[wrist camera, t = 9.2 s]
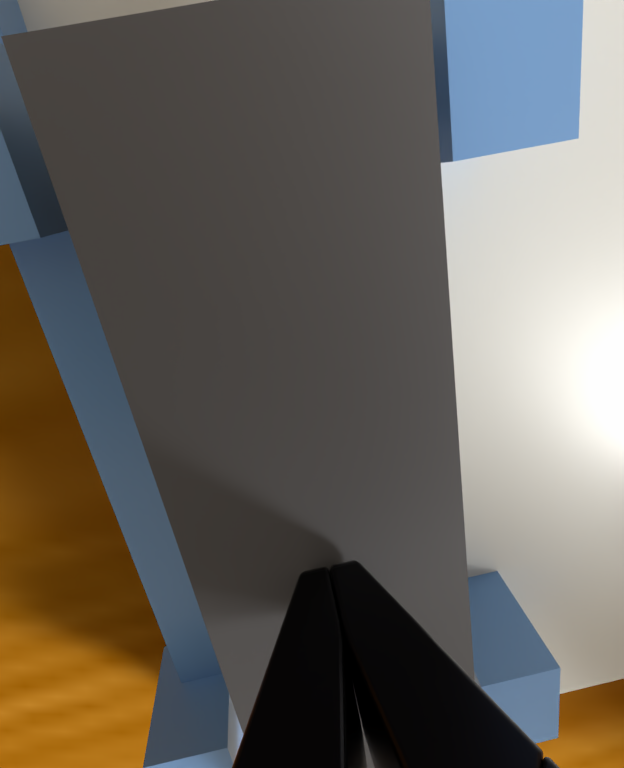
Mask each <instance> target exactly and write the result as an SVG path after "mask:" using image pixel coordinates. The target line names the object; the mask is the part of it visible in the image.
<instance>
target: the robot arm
mask: <svg viewBox="0 0 624 768" xmlns="http://www.w3.org/2000/svg"><path fill="white" fill-rule="evenodd" d="M330 574H331V575H330ZM331 579H332V580H331ZM356 699H357V700H356ZM357 704H358V705H357ZM358 709H359V710H358ZM359 713H360V715H359ZM360 718H361V721H360ZM361 722H362V726H363V730H364V735H365V738H366V741H367V745H368V748H369V752H370V755H371V758H372V761H373V764H374V767H375V768H559V767H558V766H557V765H556V764H555V763H554V762H553V761H552V760H551V759H550V758H549V757H545V758H544V759H543V752H542V750H541V749H540V748H539V747H538V746H537V745H536V744H535V743H534V742H533V741H532V740H531V739H530V738H529V736H528V735H527V734H526V733H525V732H524V731H523V730H522V729H521V728H520V727H519V726H518V725H517V724H516V723H515V722H514V721H513V720H512V719H511V718H510V717H509V716H508V715H507V714H506V713H505V712H504V711H503V710H502V709H501V708H500V707H499V706H498V705H497V704H496V702H495V701H494V700H493V699H492V698H491V697H490V696H489V695H488V694H487V693H486V692H485V691H484V690H483V689H482V688H481V687H480V686H479V685H478V684H477V683H476V682H475V681H474V680H473V679H472V678H471V677H470V676H469V675H468V674H467V673H466V672H465V671H464V670H463V668H462V667H461V666H460V665H459V664H458V663H457V662H456V661H455V660H454V659H453V658H452V657H451V656H450V655H449V654H448V653H447V652H446V651H445V650H444V649H443V648H442V647H441V646H440V645H439V644H438V643H437V642H436V641H435V640H434V639H433V638H432V637H431V636H430V634H429V633H428V632H427V631H426V630H425V629H424V628H423V627H422V626H421V625H420V624H419V623H418V622H417V621H416V620H415V619H414V618H413V617H412V616H411V615H410V614H409V613H408V612H407V611H406V610H405V609H404V608H403V607H402V606H401V605H400V604H399V603H398V601H397V600H396V599H395V598H394V597H393V596H392V595H391V594H390V593H389V592H388V591H387V590H386V589H385V588H384V587H383V586H382V585H381V584H380V583H379V582H378V581H377V580H376V579H375V578H374V577H373V576H372V575H371V574H370V573H369V572H368V571H367V570H366V569H365V567H364V566H363V565H362V564H361V563H359V562H358V561H355V560H352V561H348V562H343V563H339V564H334V565H332V566H331V568H330V571H329V569H328V568H326V567H321V568H317V569H312V570H308V571H304V572H302V573H301V574H300V575H299V578H298V580H297V583H296V586H295V589H294V592H293V595H292V597H291V600H290V603H289V606H288V609H287V612H286V615H285V617H284V620H283V623H282V626H281V629H280V632H279V635H278V637H277V640H276V643H275V646H274V649H273V652H272V655H271V657H270V660H269V663H268V666H267V669H266V672H265V674H264V677H263V680H262V683H261V686H260V689H259V692H258V694H257V697H256V700H255V703H254V706H253V709H252V712H251V714H250V717H249V720H248V723H247V726H246V729H245V732H244V734H243V737H242V740H241V743H240V746H239V749H238V752H237V754H236V757H235V760H234V763H233V766H232V768H367V762H366V753H365V745H364V738H363V732H362V726H361Z"/></svg>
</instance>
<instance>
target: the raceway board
mask: <svg viewBox="0 0 624 768" xmlns="http://www.w3.org/2000/svg"><path fill="white" fill-rule="evenodd" d="M208 1H214V0H0V245H5V244H9V245H10V248H11V250H12V253H13V255H14V258H15V260H16V263H17V265H18V268H19V270H20V273H21V276H22V278H23V281H24V283H25V286H26V288H27V291H28V293H29V296H30V299H31V301H32V304H33V306H34V309H35V311H36V314H37V316H38V319H39V321H40V324H41V327H42V329H43V332H44V334H45V337H46V339H47V342H48V344H49V347H50V350H51V352H52V355H53V357H54V360H55V362H56V365H57V367H58V370H59V372H60V375H61V378H62V380H63V383H64V385H65V388H66V390H67V393H68V395H69V398H70V401H71V403H72V406H73V408H74V411H75V413H76V416H77V418H78V421H79V423H80V426H81V429H82V431H83V434H84V436H85V439H86V441H87V444H88V446H89V449H90V452H91V454H92V457H93V459H94V462H95V464H96V467H97V469H98V472H99V474H100V477H101V480H102V482H103V485H104V487H105V490H106V492H107V495H108V497H109V500H110V503H111V505H112V508H113V510H114V513H115V515H116V518H117V520H118V523H119V525H120V528H121V531H122V533H123V536H124V538H125V541H126V543H127V546H128V548H129V551H130V554H131V556H132V559H133V561H134V564H135V566H136V569H137V571H138V574H139V577H140V579H141V582H142V584H143V587H144V589H145V592H146V594H147V597H148V599H149V602H150V605H151V607H152V610H153V612H154V615H155V617H156V620H157V622H158V625H159V628H160V630H161V633H162V635H163V638H164V640H165V643H166V645H167V646H165V647H164V650H163V656H162V662H161V668H160V673H159V679H158V685H157V690H156V696H155V702H154V708H153V713H152V719H151V725H150V731H149V736H148V742H147V748H146V753H145V759H144V765H143V768H232V766H233V763H234V760H235V757H236V754H237V752H238V749H239V746H240V743H241V740H242V737H243V732H242V729H241V726H240V723H239V721H238V718H237V715H236V712H235V709H234V706H233V703H232V700H231V698H230V695H229V692H228V689H227V686H226V683H225V680H224V677H223V674H222V672H221V669H220V666H219V663H218V660H217V657H216V654H215V651H214V649H213V646H212V643H211V640H210V637H209V634H208V631H207V628H206V625H205V623H204V620H203V617H202V614H201V611H200V608H199V605H198V602H197V600H196V597H195V594H194V591H193V588H192V585H191V582H190V579H189V576H188V574H187V571H186V568H185V565H184V562H183V559H182V556H181V553H180V551H179V548H178V545H177V542H176V539H175V536H174V533H173V530H172V527H171V525H170V522H169V519H168V516H167V513H166V510H165V507H164V504H163V502H162V499H161V496H160V493H159V490H158V487H157V484H156V481H155V478H154V476H153V473H152V470H151V467H150V464H149V461H148V458H147V455H146V453H145V450H144V447H143V444H142V441H141V438H140V435H139V432H138V429H137V427H136V424H135V421H134V418H133V415H132V412H131V409H130V406H129V404H128V401H127V398H126V395H125V392H124V389H123V386H122V383H121V380H120V378H119V375H118V372H117V369H116V366H115V363H114V360H113V357H112V355H111V352H110V349H109V346H108V343H107V340H106V337H105V334H104V332H103V329H102V326H101V323H100V320H99V317H98V314H97V311H96V308H95V306H94V303H93V300H92V297H91V294H90V291H89V288H88V285H87V283H86V280H85V277H84V274H83V271H82V268H81V265H80V262H79V259H78V257H77V254H76V251H75V248H74V245H73V242H72V239H71V236H70V234H69V231H68V228H67V225H66V222H65V219H64V216H63V213H62V210H61V208H60V205H59V202H58V199H57V196H56V193H55V190H54V187H53V185H52V182H51V179H50V176H49V173H48V170H47V167H46V164H45V161H44V159H43V156H42V153H41V150H40V147H39V144H38V141H37V138H36V136H35V133H34V130H33V127H32V124H31V121H30V118H29V115H28V112H27V110H26V107H25V104H24V101H23V98H22V95H21V92H20V89H19V87H18V84H17V81H16V78H15V75H14V72H13V69H12V66H11V63H10V61H9V58H8V55H7V52H6V49H5V46H4V43H3V40H2V38H1V36H6V35H12V34H18V33H24V32H30V31H36V30H42V29H48V28H54V27H60V26H66V25H72V24H78V23H84V22H89V21H95V20H101V19H107V18H113V17H119V16H125V15H131V14H137V13H143V12H149V11H155V10H161V9H167V8H173V7H179V6H185V5H191V4H196V3H202V2H208ZM430 9H431V24H432V39H433V54H434V70H435V85H436V100H437V115H438V130H439V146H440V161H441V176H442V191H443V206H444V222H445V237H446V252H447V267H448V282H449V298H450V313H451V328H452V343H453V358H454V374H455V389H456V404H457V419H458V434H459V450H460V465H461V480H462V495H463V510H464V526H465V541H466V556H467V571H468V586H469V602H470V617H471V632H472V647H473V662H474V678H475V682H476V683H477V684H478V685H479V686H480V687H481V688H482V689H483V690H484V691H485V692H486V693H487V694H488V695H489V696H490V697H491V698H492V699H493V700H494V701H495V702H496V704H497V705H498V706H499V707H500V708H501V709H502V710H503V711H504V712H505V713H506V714H507V715H508V716H509V717H510V718H511V719H512V720H513V721H514V722H515V723H516V724H517V725H518V726H519V727H520V728H521V729H522V730H523V731H524V732H525V733H526V734H527V735H528V736H529V738H530V739H531V740H532V741H533V742H534V743H539V742H543V741H547V740H551V739H555V738H558V727H559V698H560V694H562V693H566V692H570V691H574V690H578V689H583V688H587V687H591V686H595V685H599V684H603V683H607V682H611V681H616V680H620V679H624V0H430Z"/></svg>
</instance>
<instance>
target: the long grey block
mask: <svg viewBox="0 0 624 768" xmlns="http://www.w3.org/2000/svg"><path fill="white" fill-rule="evenodd" d="M1 38H2V40H3V43H4V46H5V49H6V52H7V55H8V58H9V61H10V63H11V66H12V69H13V72H14V75H15V78H16V81H17V84H18V87H19V89H20V92H21V95H22V98H23V101H24V104H25V107H26V110H27V112H28V115H29V118H30V121H31V124H32V127H33V130H34V133H35V136H36V138H37V141H38V144H39V147H40V150H41V153H42V156H43V159H44V161H45V164H46V167H47V170H48V173H49V176H50V179H51V182H52V185H53V187H54V190H55V193H56V196H57V199H58V202H59V205H60V208H61V210H62V213H63V216H64V219H65V222H66V225H67V228H68V231H69V234H70V236H71V239H72V242H73V245H74V248H75V251H76V254H77V257H78V259H79V262H80V265H81V268H82V271H83V274H84V277H85V280H86V283H87V285H88V288H89V291H90V294H91V297H92V300H93V303H94V306H95V308H96V311H97V314H98V317H99V320H100V323H101V326H102V329H103V332H104V334H105V337H106V340H107V343H108V346H109V349H110V352H111V355H112V357H113V360H114V363H115V366H116V369H117V372H118V375H119V378H120V380H121V383H122V386H123V389H124V392H125V395H126V398H127V401H128V404H129V406H130V409H131V412H132V415H133V418H134V421H135V424H136V427H137V429H138V432H139V435H140V438H141V441H142V444H143V447H144V450H145V453H146V455H147V458H148V461H149V464H150V467H151V470H152V473H153V476H154V478H155V481H156V484H157V487H158V490H159V493H160V496H161V499H162V502H163V504H164V507H165V510H166V513H167V516H168V519H169V522H170V525H171V527H172V530H173V533H174V536H175V539H176V542H177V545H178V548H179V551H180V553H181V556H182V559H183V562H184V565H185V568H186V571H187V574H188V576H189V579H190V582H191V585H192V588H193V591H194V594H195V597H196V600H197V602H198V605H199V608H200V611H201V614H202V617H203V620H204V623H205V625H206V628H207V631H208V634H209V637H210V640H211V643H212V646H213V649H214V651H215V654H216V657H217V660H218V663H219V666H220V669H221V672H222V674H223V677H224V680H225V683H226V686H227V689H228V692H229V695H230V698H231V700H232V703H233V706H234V709H235V712H236V715H237V718H238V721H239V723H240V726H241V729H242V732H243V734H244V732H245V729H246V726H247V723H248V720H249V717H250V714H251V712H252V709H253V706H254V703H255V700H256V697H257V694H258V692H259V689H260V686H261V683H262V680H263V677H264V674H265V672H266V669H267V666H268V663H269V660H270V657H271V655H272V652H273V649H274V646H275V643H276V640H277V637H278V635H279V632H280V629H281V626H282V623H283V620H284V617H285V615H286V612H287V609H288V606H289V603H290V600H291V597H292V595H293V592H294V589H295V586H296V583H297V580H298V578H299V575H300V574H301V573H302V572H304V571H308V570H312V569H317V568H321V567H326V568H328V569H329V571H330V568H331V566H332V565H334V564H339V563H343V562H348V561H352V560H355V561H358V562H359V563H361V564H362V565H363V566H364V567H365V569H366V570H367V571H368V572H369V573H370V574H371V575H372V576H373V577H374V578H375V579H376V580H377V581H378V582H379V583H380V584H381V585H382V586H383V587H384V588H385V589H386V590H387V591H388V592H389V593H390V594H391V595H392V596H393V597H394V598H395V599H396V600H397V601H398V603H399V604H400V605H401V606H402V607H403V608H404V609H405V610H406V611H407V612H408V613H409V614H410V615H411V616H412V617H413V618H414V619H415V620H416V621H417V622H418V623H419V624H420V625H421V626H422V627H423V628H424V629H425V630H426V631H427V632H428V633H429V634H430V636H431V637H432V638H433V639H434V640H435V641H436V642H437V643H438V644H439V645H440V646H441V647H442V648H443V649H444V650H445V651H446V652H447V653H448V654H449V655H450V656H451V657H452V658H453V659H454V660H455V661H456V662H457V663H458V664H459V665H460V666H461V667H462V668H463V670H464V671H465V672H466V673H467V674H468V675H469V676H470V677H471V678H472V679H473V680H474V681H475V678H474V662H473V647H472V632H471V617H470V602H469V586H468V571H467V556H466V541H465V526H464V510H463V495H462V480H461V465H460V450H459V434H458V419H457V404H456V389H455V374H454V358H453V343H452V328H451V313H450V298H449V282H448V267H447V252H446V237H445V222H444V206H443V191H442V176H441V161H440V146H439V130H438V115H437V100H436V85H435V70H434V54H433V39H432V24H431V9H430V0H214V1H208V2H202V3H196V4H191V5H185V6H179V7H173V8H167V9H161V10H155V11H149V12H143V13H137V14H131V15H125V16H119V17H113V18H107V19H101V20H95V21H89V22H84V23H78V24H72V25H66V26H60V27H54V28H48V29H42V30H36V31H30V32H24V33H18V34H12V35H6V36H1ZM330 575H331V574H330ZM331 580H332V579H331ZM356 700H357V699H356ZM357 705H358V704H357ZM358 710H359V709H358ZM359 715H360V713H359ZM360 721H361V718H360ZM361 726H362V722H361ZM362 732H363V738H364V745H365V753H366V762H367V768H375V767H374V764H373V761H372V758H371V755H370V752H369V748H368V745H367V741H366V738H365V735H364V730H363V726H362Z"/></svg>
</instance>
